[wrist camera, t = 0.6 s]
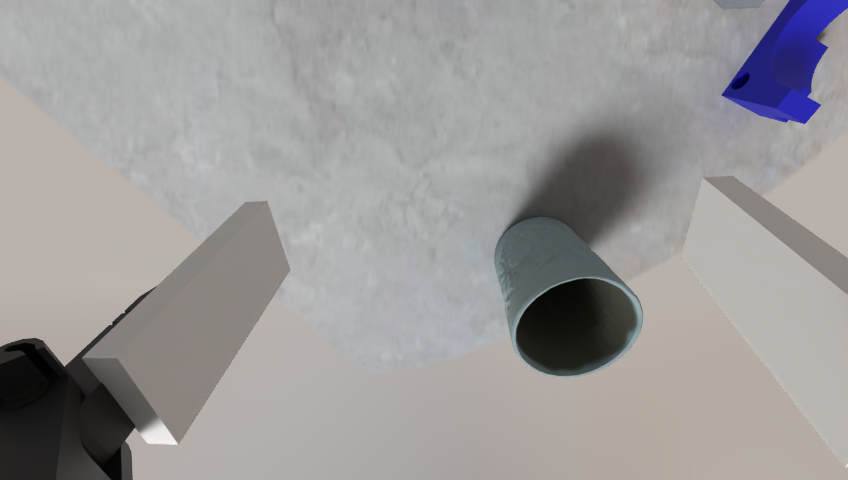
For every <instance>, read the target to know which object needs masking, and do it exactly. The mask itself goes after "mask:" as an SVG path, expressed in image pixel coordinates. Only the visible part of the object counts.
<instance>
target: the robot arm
mask: <svg viewBox="0 0 848 480" xmlns="http://www.w3.org/2000/svg"><path fill="white" fill-rule="evenodd" d="M681 259H682V260H683V262H684V263H685V264H686V266H687V267H688V268H689V269H690V271H691V272H692V273H693V274H694V275H695V277H696V278H697V280H698V281H699V282H700V283H701V285H702V286H703V287H704V288H705V290H706V291H707V292H708V294H709V295H710V296H711V297H712V298H713V300H714V301H715V303H716V304H717V305H718V306H719V308H720V309H721V310H722V312H723V313H724V314H725V315H726V317H727V318H728V319H729V320H730V322H731V323H732V324H733V326H734V327H735V328H736V329H737V331H738V332H739V333H740V335H741V336H742V337H743V338H744V340H745V341H746V342H747V343H748V345H749V346H750V347H751V349H752V350H753V351H754V352H755V354H756V355H757V356H758V357H759V359H760V360H761V361H762V363H763V364H764V365H765V366H766V368H767V369H768V370H769V371H770V373H771V374H772V375H773V377H774V378H775V379H776V381H777V382H778V383H779V384H780V386H781V387H782V388H783V389H784V391H785V392H786V393H787V395H788V396H789V397H790V398H791V400H792V401H793V402H794V404H795V405H796V406H797V407H798V409H799V410H800V411H801V412H802V414H803V415H804V416H805V418H806V419H807V420H808V421H809V423H810V424H811V425H812V427H813V428H814V429H815V430H816V431H817V433H818V434H819V435H820V437H821V438H822V439H823V440H824V442H825V443H826V444H827V446H828V447H829V448H830V449H831V451H832V452H833V453H834V455H835V456H836V457H837V458H838V460H839V461H840V462H841V464H842V465H843V466H844V467H845V468H848V258H847V257H845V256H844V255H842V254H841V253H840V252H838V251H837V250H836V249H834V248H833V247H831V246H830V245H829V244H827V243H826V242H824V241H823V240H822V239H820V238H819V237H817V236H816V235H815V234H813V233H812V232H810V231H809V230H808V229H806V228H805V227H803V226H802V225H800V224H799V223H798V222H796V221H795V220H793V219H792V218H791V217H789V216H788V215H786V214H785V213H784V212H782V211H781V210H779V209H778V208H777V207H775V206H774V205H772V204H771V203H769V202H768V201H767V200H765V199H764V198H763V197H761V196H760V195H758V194H757V193H756V192H754V191H753V190H751V189H750V188H749V187H747V186H746V185H744V184H743V183H742V182H740V181H739V180H737V179H736V178H735V177H733V176H723V177H704V178H703V179H702V182H701V186H700V190H699V193H698V197H697V201H696V204H695V208H694V212H693V215H692V219H691V223H690V226H689V230H688V234H687V237H686V241H685V245H684V249H683V252H682V256H681ZM289 271H290V267H289V264H288V261H287V258H286V255H285V252H284V249H283V246H282V243H281V241H280V238H279V235H278V232H277V229H276V226H275V223H274V220H273V217H272V214H271V211H270V208H269V205H268V202H267V201H261V202H245V203H244V204H243V205H242V206H241V207H240V208H239V209H238V210H237V211H236V212H235V213H234V214H233V215H232V216H231V217H229V218H228V219H227V220H226V221H225V222H224V223H223V224H222V225H221V226H220V227H219V228H218V229H217V230H216V231H215V232H214V233H213V234H212V235H211V236H209V237H208V238H207V239H206V240H205V241H204V242H203V243H202V244H201V245H200V246H199V247H198V248H197V249H196V250H195V251H194V252H193V253H192V254H191V255H190V256H188V257H187V258H186V259H185V260H184V261H183V262H182V263H181V264H180V265H179V266H178V267H177V268H176V269H175V270H174V271H173V272H172V273H171V274H169V276H167V277H166V278H165V279H164V280H163V281H162V282H161V283H160V284H159V285H158V286H156V287H155V288H153V289H151V290H150V291H148V292H146V293H145V294H143V295H142V296H140V297H139V298H138V299H137V300H136V301H135V302H134V303H133V304H131V305H130V306H129V307H128V308H127V309H126V310H125V313H122V314H121V315H120V316H119V317H118V318H116V319H115V320H114V321H113V322H112V323H113V324H112V325H109V326H108V327H107V328H106V329H105V330H104V331H103V332H102V333H100V334H99V335H98V336H97V337H96V338H95V339H94V340H93V341H92V342H91V343H90V344H89V345H87V346H86V347H85V348H84V349H83V350H82V351H81V352H80V353H79V354H78V355H77V356H76V357H75V358H74V359H73V360H71V361H70V362H69V363H68V364H67V365H66V366H65V367H64V366H63V365H62V363H61V362H60V361H59V360H58V359H57V357H56V356H55V355H54V354H53V352H52V351H51V350H50V349H49V348H48V346H47V345H46V344H45V343H44V341H42V340H39V339H37V338H31V339H22V340H19V341H15V342H12V343H8V344H6V345H4V346H2V347H0V480H133V478H132V456H131V450H130V448H129V445H128V444H127V443H126V442H125V440H126V438H127V437H128V436H129V434H130V433H131V432H132V431H133V429H134V428H136V429H137V430H138V432H139V433H140V434H141V436H142V437H143V438H144V439H145V441H146V442H147V443H148V444H175V445H176V444H177V445H178V444H179V443H180V441H181V440H182V438H183V437H184V435H185V433H186V432H187V430H188V429H189V427H190V426H191V424H192V423H193V421H194V420H195V418H196V416H197V415H198V413H199V412H200V410H201V408H202V407H203V405H204V404H205V402H206V401H207V399H208V398H209V396H210V394H211V393H212V391H213V390H214V388H215V387H216V385H217V384H218V382H219V380H220V379H221V377H222V375H223V374H224V373H225V371H226V369H227V368H228V366H229V365H230V363H231V362H232V360H233V359H234V357H235V355H236V354H237V352H238V351H239V349H240V348H241V346H242V344H243V343H244V341H245V340H246V338H247V337H248V335H249V333H250V332H251V330H252V329H253V327H254V326H255V324H256V323H257V321H258V320H259V318H260V316H261V315H262V313H263V312H264V310H265V309H266V307H267V305H268V304H269V302H270V301H271V299H272V298H273V296H274V295H275V293H276V291H277V290H278V288H279V287H280V285H281V284H282V282H283V280H284V279H285V277H286V276H287V274H288V273H289Z"/></svg>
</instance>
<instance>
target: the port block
mask: <svg viewBox="0 0 848 480" xmlns="http://www.w3.org/2000/svg"><path fill="white" fill-rule="evenodd" d="M714 1H715V2H716V3H717V4H718V5H719V6H720V7H722V8H723V9H743V8H758V7H759V6H760V5H761V4H762V3H763V2H764V0H714Z"/></svg>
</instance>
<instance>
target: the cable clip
mask: <svg viewBox="0 0 848 480" xmlns="http://www.w3.org/2000/svg"><path fill="white" fill-rule="evenodd" d="M847 8H848V0H790V1H789V2H788V4H787V5H786V6H785V8H784V9H783V11H782V12H781V13H780V15H779V16H778V18H777V19H776V20H775V22H774V23H773V24H772V26H771V27H770V29H769V30H768V31H767V33H766V34H765V36H764V37H763V38H762V40H761V41H760V43H759V44H758V45H757V47H756V48H755V50H754V51H753V52H752V54H751V55H750V56H749V58H748V59H747V61H746V62H745V63H744V65H743V66H742V68H741V69H740V70H739V72H738V73H737V75H736V76H735V77H734V79H733V80H732V81H731V83H730V84H729V86H728V87H727V88H726V90H725V91H724V93H723V94H722V96H724V97H726V98H728V99H729V100H731V101H733V102H735V103H737V104H739V105H741V106H743V107H745V108H746V109H748V110H750V111H752V112H754V113H756V114H758V115H760V116H764V117H767V118H771V119H775V120H778V121H782V122H787V121H788V120H792V121H796V122H799V123H803V124H805V123H806V122H807V121H808V120H809V119H810V118H811V116H812V115H813V114H814V113H815V112H816V110H817V109H818V108H819V107H820V106H821V105H820V104H819V103H817V102H815V101H813V100H811V99H810V98H808V97H807V96H808V95H809V94H810V93H811V92H812V91H811V82H812V77H813V73H814V70H815V68H816V66H817V64H818V62H819V60H820V59H821V57H822V55H823V54H824V52H825V51H826V50H827V48H828V47H827V46H825V45H823V44H822V43H820V42H818V41H817V40H815V39H816V38H817V36H818V35H819V34H820V33H821V32H822V31H823V29H824V28H825V27H826V26H827V25H828V24H829V23H830V22H832V21H833V20H834V19H835V18H836V17H837V16H838V15H839V14H841V13H842V12H843V11H844V10H846V9H847Z"/></svg>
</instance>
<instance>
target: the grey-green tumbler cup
mask: <svg viewBox="0 0 848 480" xmlns="http://www.w3.org/2000/svg"><path fill="white" fill-rule="evenodd" d="M494 259H495V267H496V272H497V276H498V281H499V283H500V286H501V291H502V294H503V297H504V301H505V303H506V304H505V311H506V314H507V319H508V325H509V330H510V335H511V340H512V344H513V347H514V350H515V352H516V354H517V355H518V356H519V358H520V359H521V360H522V361H523V362H524V363H525V364H526V365H528V366H529V367H530V368H532V369H533V370H534V371H537V372H539V373H542V374H544V375H548V376H553V377H565V378H567V377H577V376H583V375H587V374H591V373H594V372H596V371H599V370H601V369H603V368H605V367H607V366H609V365H611V364H612V363H614V362H615V361H617V360H618V359H619V358H621V357H622V356H623V355H624V354H625V353H626V352H627V351H628V350H629V349H630V348H631V347H632V346H633V344H634V343H635V341H636V339H637V337H638V336H639V334H640V331H641V327H642V323H643V311H642V307H641V304H640V301H639V299H638V298H637V296H636V295H635V294H634V293H633V292H632V290H631V289H630V288H629V287H628V286H627V285H626V284H625V283H624V282H623V281H622V280H621V279H620V278H619V277H618V276H617V275H616V274H615V273H614V272H613V271H612V270H611V269H610V268H609V267H608V266H607V264H606V263H605V262H604V261H603V260H602V259H601V258H600V257H599V256H598V255H597V254H596V253H594V252H593V251H591V249H590V247H589V246H588V245H587V244H586V243H585V242H584V241H583V240H582V239H581V238H580V237H579V236H577V235H576V234H575V232H574V231H573V230H572V229H571V228H570V227H569V226H568V225H566V224H565V223H564V222H562V221H560V220H557V219H554V218H551V217H533V218H529V219H526V220H523V221H520V222H519V223H517V224H515V225H514V226H512V227H511V228H510V229H508V230H507V231H506V232H505V233H504V235H503V236H502V237H501V239H500V241H499V242H498V244H497V247H496V250H495V258H494Z"/></svg>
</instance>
